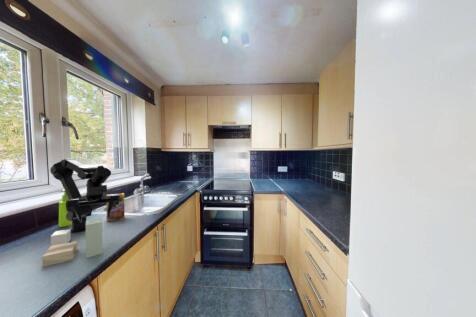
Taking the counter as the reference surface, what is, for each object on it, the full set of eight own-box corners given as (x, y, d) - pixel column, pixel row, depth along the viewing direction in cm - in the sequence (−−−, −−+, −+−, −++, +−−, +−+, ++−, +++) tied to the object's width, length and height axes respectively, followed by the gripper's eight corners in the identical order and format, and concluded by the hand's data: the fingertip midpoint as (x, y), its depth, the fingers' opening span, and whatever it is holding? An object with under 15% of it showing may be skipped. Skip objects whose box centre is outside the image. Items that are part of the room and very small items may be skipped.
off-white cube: (56, 242, 80) (55, 231, 80) (70, 239, 83) (70, 229, 83) (51, 247, 76) (50, 236, 76) (66, 244, 79) (66, 233, 78)
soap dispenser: (55, 228, 94) (56, 190, 93) (61, 223, 100) (61, 188, 100) (70, 226, 96) (70, 189, 96) (75, 222, 102) (75, 187, 102)
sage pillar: (86, 252, 73) (86, 220, 72) (102, 248, 76) (101, 218, 75) (86, 258, 69) (85, 225, 68) (102, 253, 72) (102, 221, 72)
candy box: (106, 222, 103) (106, 195, 102) (106, 219, 107) (106, 194, 106) (124, 218, 108) (124, 193, 107) (124, 216, 112) (124, 192, 111)
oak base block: (51, 255, 71) (50, 246, 70) (77, 250, 75) (77, 241, 74) (42, 267, 64) (42, 256, 64) (72, 260, 68) (72, 250, 68)
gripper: (66, 181, 74) (63, 215, 67) (119, 177, 86) (122, 206, 78) (68, 195, 81) (65, 228, 73) (117, 190, 93) (120, 218, 85)
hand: (95, 219), depth 77 cm, fingers open, 9 cm apart
